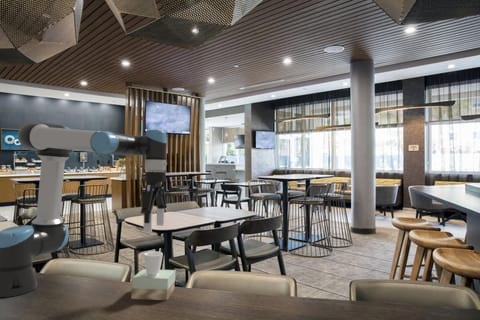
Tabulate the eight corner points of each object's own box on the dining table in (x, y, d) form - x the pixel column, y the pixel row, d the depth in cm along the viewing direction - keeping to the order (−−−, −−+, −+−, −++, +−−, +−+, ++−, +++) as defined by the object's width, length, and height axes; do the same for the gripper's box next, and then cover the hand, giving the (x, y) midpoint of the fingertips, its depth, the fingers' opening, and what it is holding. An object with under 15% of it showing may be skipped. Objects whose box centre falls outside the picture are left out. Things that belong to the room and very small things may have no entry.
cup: (140, 278, 117) (140, 255, 117) (148, 270, 127) (149, 249, 127) (159, 279, 117) (160, 256, 117) (166, 270, 127) (167, 249, 127)
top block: (132, 288, 118) (132, 277, 118) (142, 279, 128) (143, 269, 128) (167, 290, 117) (167, 278, 117) (175, 280, 127) (175, 270, 127)
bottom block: (131, 300, 117) (131, 289, 117) (141, 290, 127) (141, 279, 127) (166, 301, 116) (166, 290, 116) (174, 291, 126) (174, 281, 126)
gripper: (153, 171, 109) (152, 235, 108) (174, 171, 134) (173, 223, 133) (132, 171, 109) (130, 235, 109) (156, 171, 134) (155, 222, 134)
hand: (154, 228), depth 121 cm, fingers open, 13 cm apart
